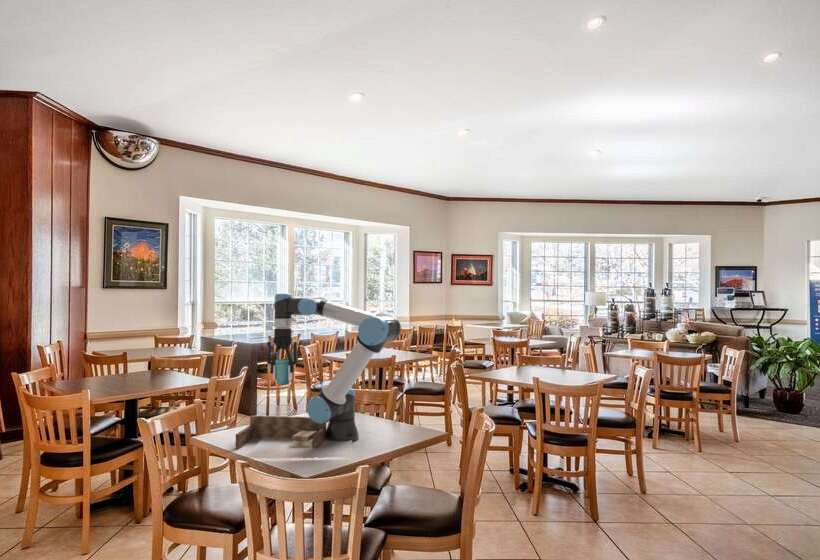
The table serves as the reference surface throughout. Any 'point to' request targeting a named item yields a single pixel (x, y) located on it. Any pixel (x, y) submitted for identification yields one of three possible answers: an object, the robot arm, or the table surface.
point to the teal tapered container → (282, 368)
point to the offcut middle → (303, 443)
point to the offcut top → (304, 435)
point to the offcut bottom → (300, 446)
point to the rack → (280, 429)
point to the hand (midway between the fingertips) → (282, 379)
